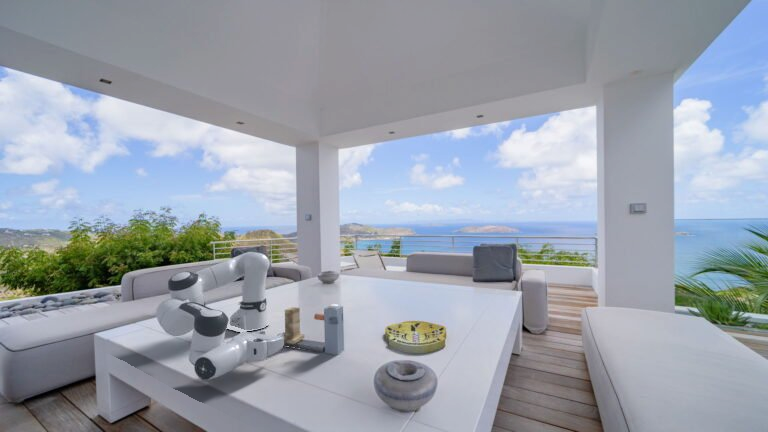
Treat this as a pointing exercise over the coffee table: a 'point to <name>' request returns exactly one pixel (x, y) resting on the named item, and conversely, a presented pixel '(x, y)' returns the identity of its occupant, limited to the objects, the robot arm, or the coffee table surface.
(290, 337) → the beige post on base
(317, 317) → the reddish-brown cylinder
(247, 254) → the robot arm
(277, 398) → the coffee table surface
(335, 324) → the blue-grey post
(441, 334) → the yellow printed disc
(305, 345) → the rail
